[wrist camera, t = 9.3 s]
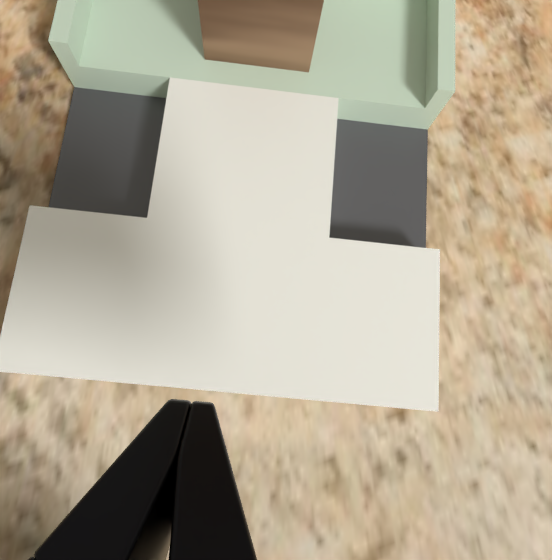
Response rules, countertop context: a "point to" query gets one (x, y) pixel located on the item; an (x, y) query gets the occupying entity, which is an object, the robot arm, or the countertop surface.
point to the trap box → (240, 209)
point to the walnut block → (260, 32)
